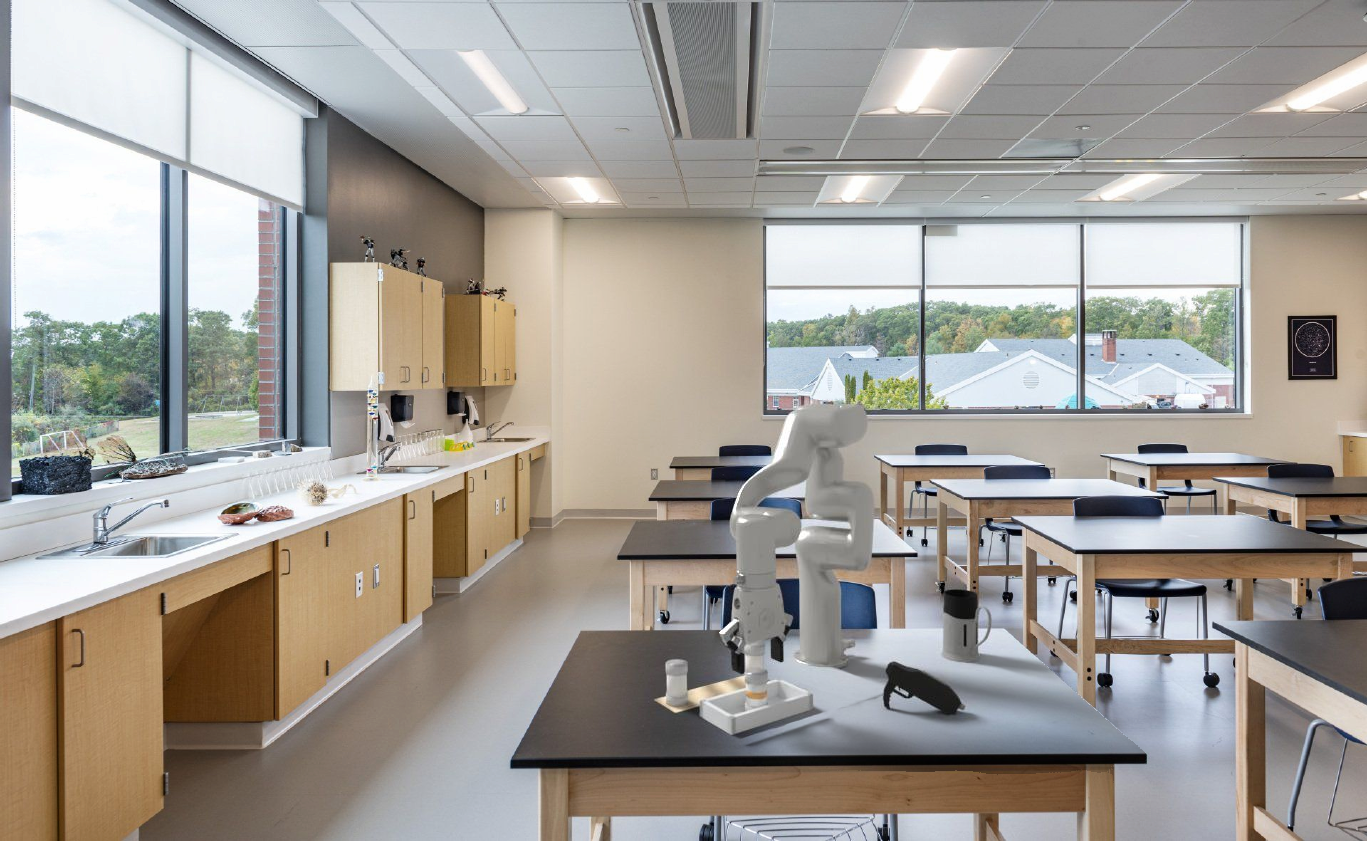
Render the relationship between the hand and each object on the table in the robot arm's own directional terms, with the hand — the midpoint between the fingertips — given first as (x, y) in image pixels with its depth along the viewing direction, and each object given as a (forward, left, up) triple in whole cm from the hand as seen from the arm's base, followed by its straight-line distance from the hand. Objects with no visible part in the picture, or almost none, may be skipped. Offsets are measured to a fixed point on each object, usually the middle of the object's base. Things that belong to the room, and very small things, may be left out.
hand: (758, 666), depth 152 cm
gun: (-28, +17, -10) cm, 34 cm away
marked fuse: (+1, 0, -9) cm, 9 cm away
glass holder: (-60, +3, -10) cm, 61 cm away
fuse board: (+1, -13, -10) cm, 16 cm away
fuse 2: (-9, -13, -9) cm, 18 cm away
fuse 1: (+11, -13, -9) cm, 19 cm away
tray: (+1, 0, -10) cm, 10 cm away
